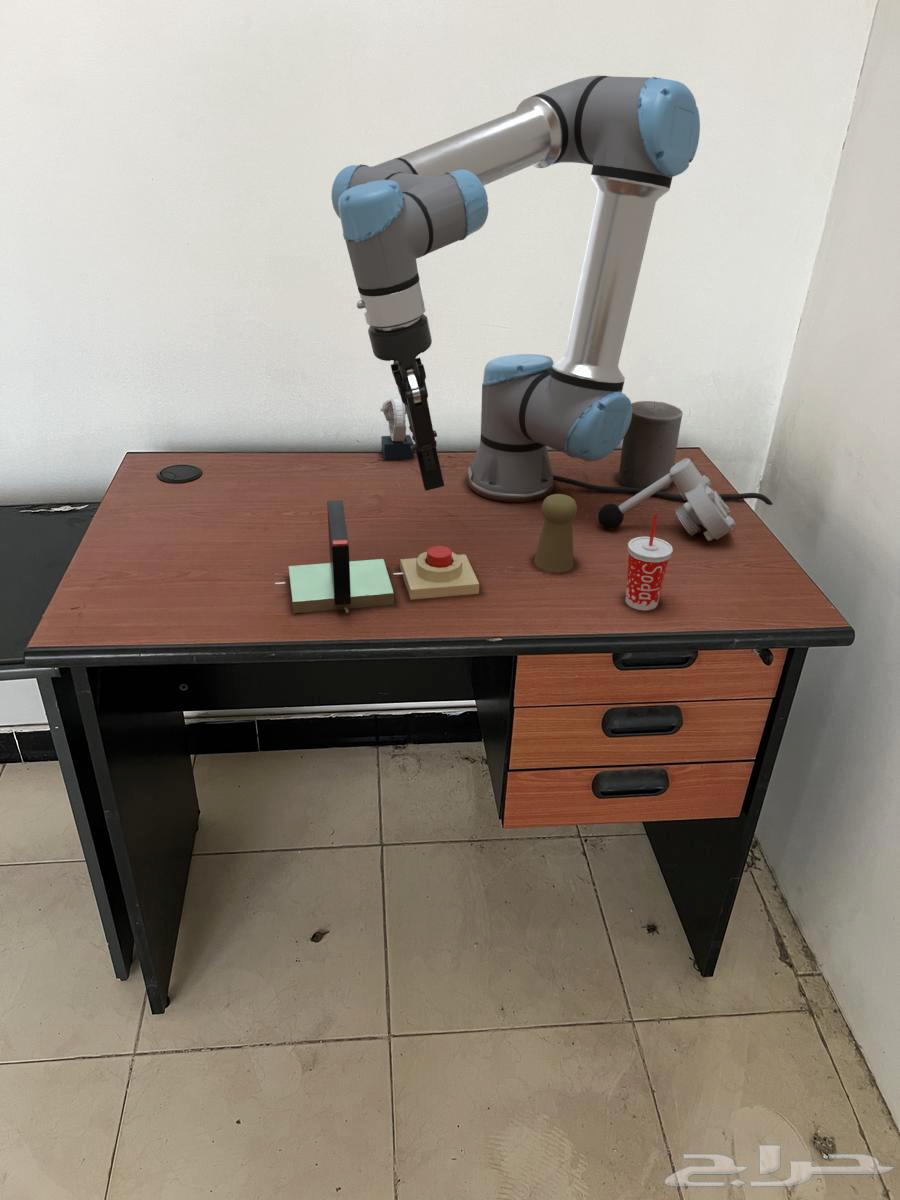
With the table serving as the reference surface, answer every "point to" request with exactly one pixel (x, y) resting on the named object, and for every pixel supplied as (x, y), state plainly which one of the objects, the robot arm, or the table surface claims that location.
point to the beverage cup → (646, 570)
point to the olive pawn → (556, 534)
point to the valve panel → (317, 587)
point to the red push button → (439, 556)
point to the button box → (438, 577)
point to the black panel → (339, 552)
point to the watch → (396, 431)
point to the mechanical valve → (696, 511)
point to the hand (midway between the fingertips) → (434, 485)
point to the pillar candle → (649, 444)
